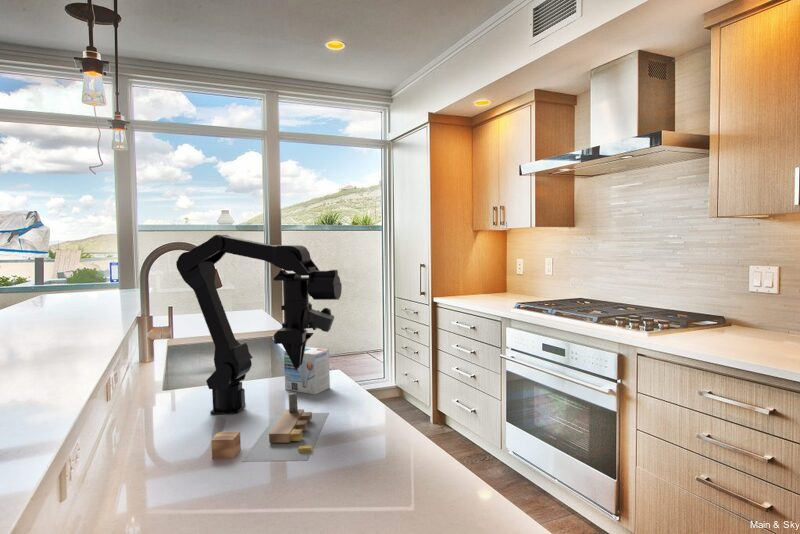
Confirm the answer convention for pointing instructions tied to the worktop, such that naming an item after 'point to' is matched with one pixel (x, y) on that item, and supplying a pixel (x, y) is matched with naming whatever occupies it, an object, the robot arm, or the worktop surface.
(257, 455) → the base plate
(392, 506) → the worktop surface
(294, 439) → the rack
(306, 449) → the pointer
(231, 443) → the yellow-striped wooden block
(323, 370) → the light bulb box
